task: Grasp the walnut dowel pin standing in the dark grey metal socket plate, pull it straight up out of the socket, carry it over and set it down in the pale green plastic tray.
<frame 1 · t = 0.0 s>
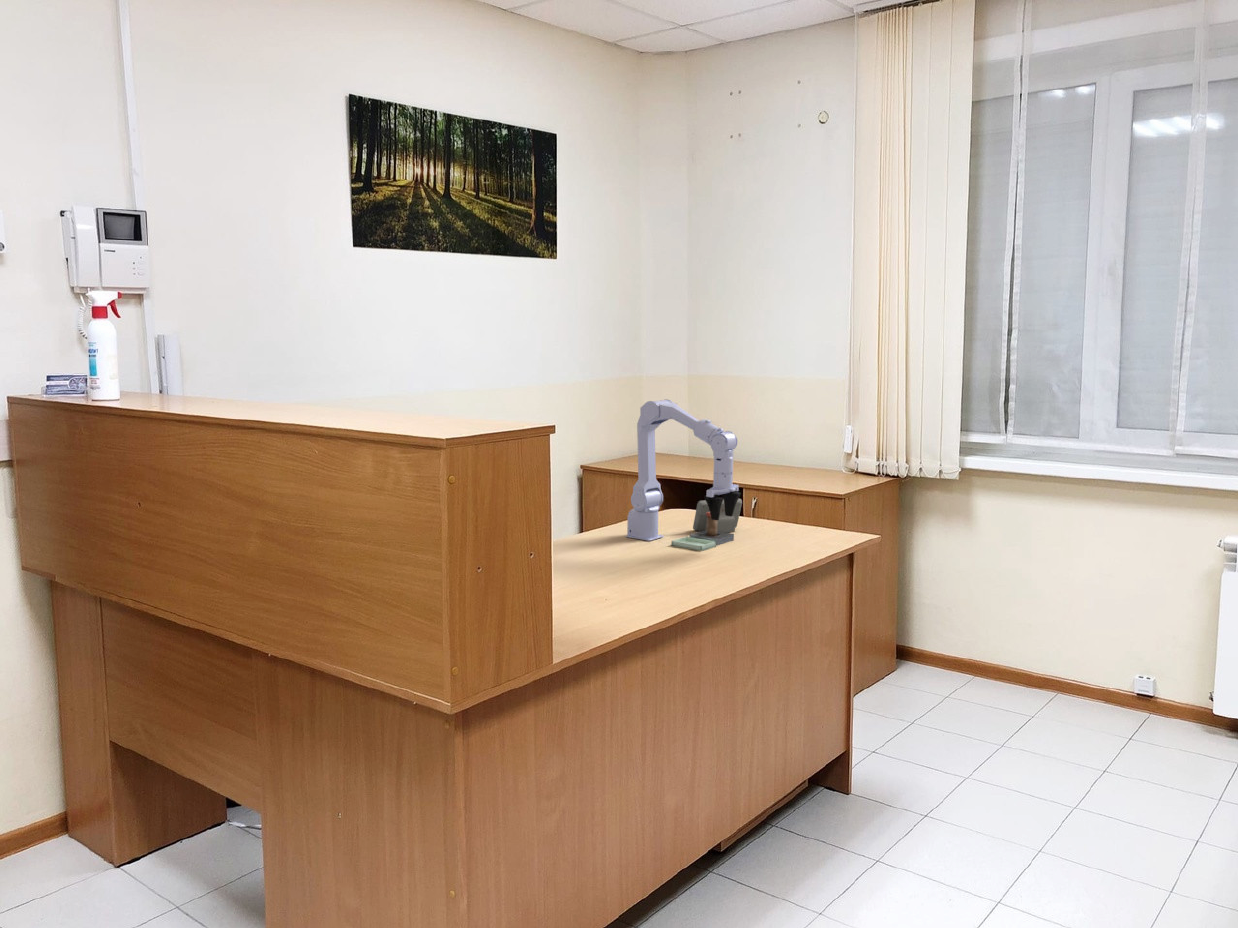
hand: (722, 517, 295), 10 cm above the table, fingers open, 7 cm apart
tray: (693, 546, 303), on the table
pin: (711, 526, 310), in the socket plate
socket plate: (711, 540, 310), on the table
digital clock: (717, 531, 326), on the table
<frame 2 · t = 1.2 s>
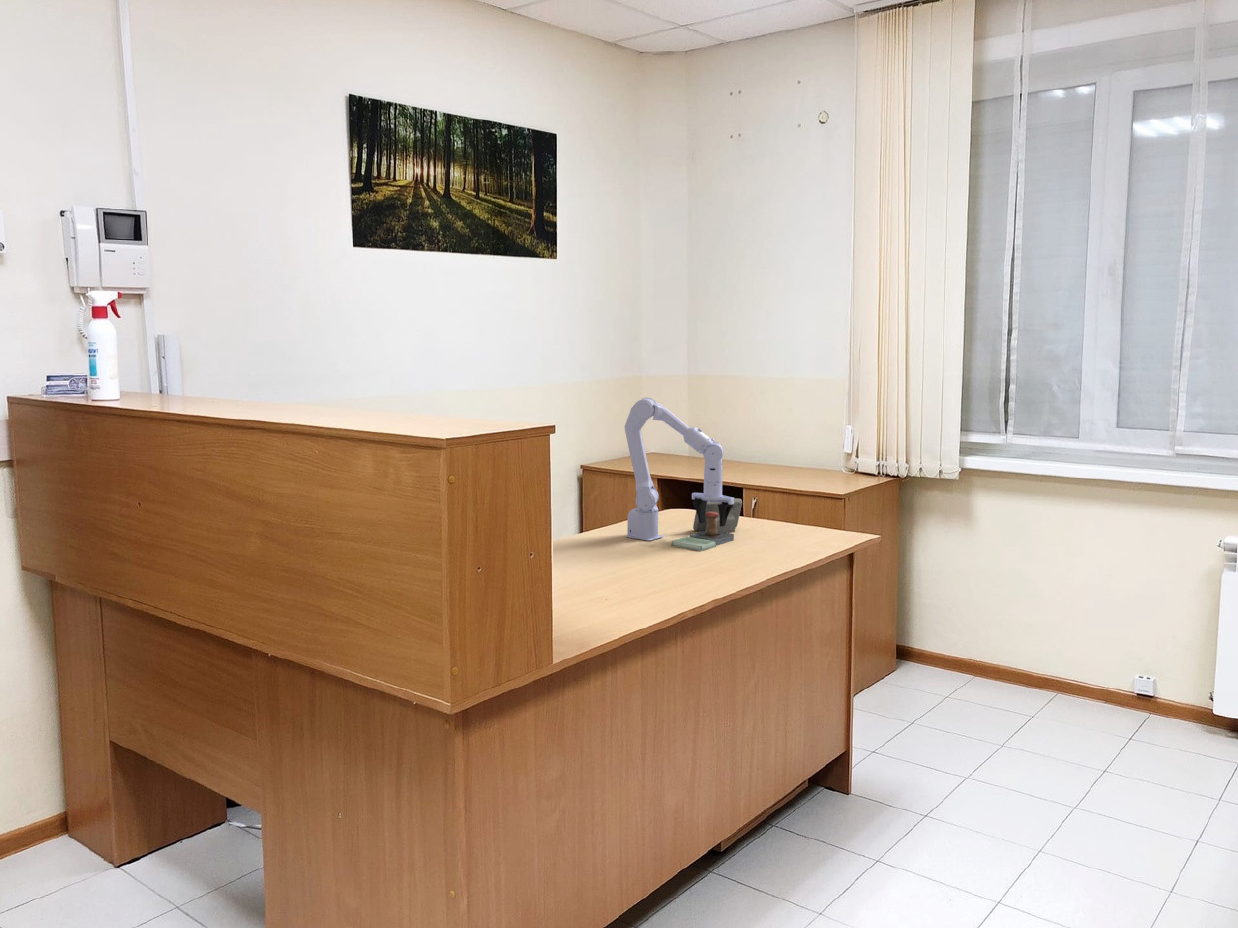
hand: (712, 524, 310), 5 cm above the table, fingers open, 7 cm apart
nothing on the table moved.
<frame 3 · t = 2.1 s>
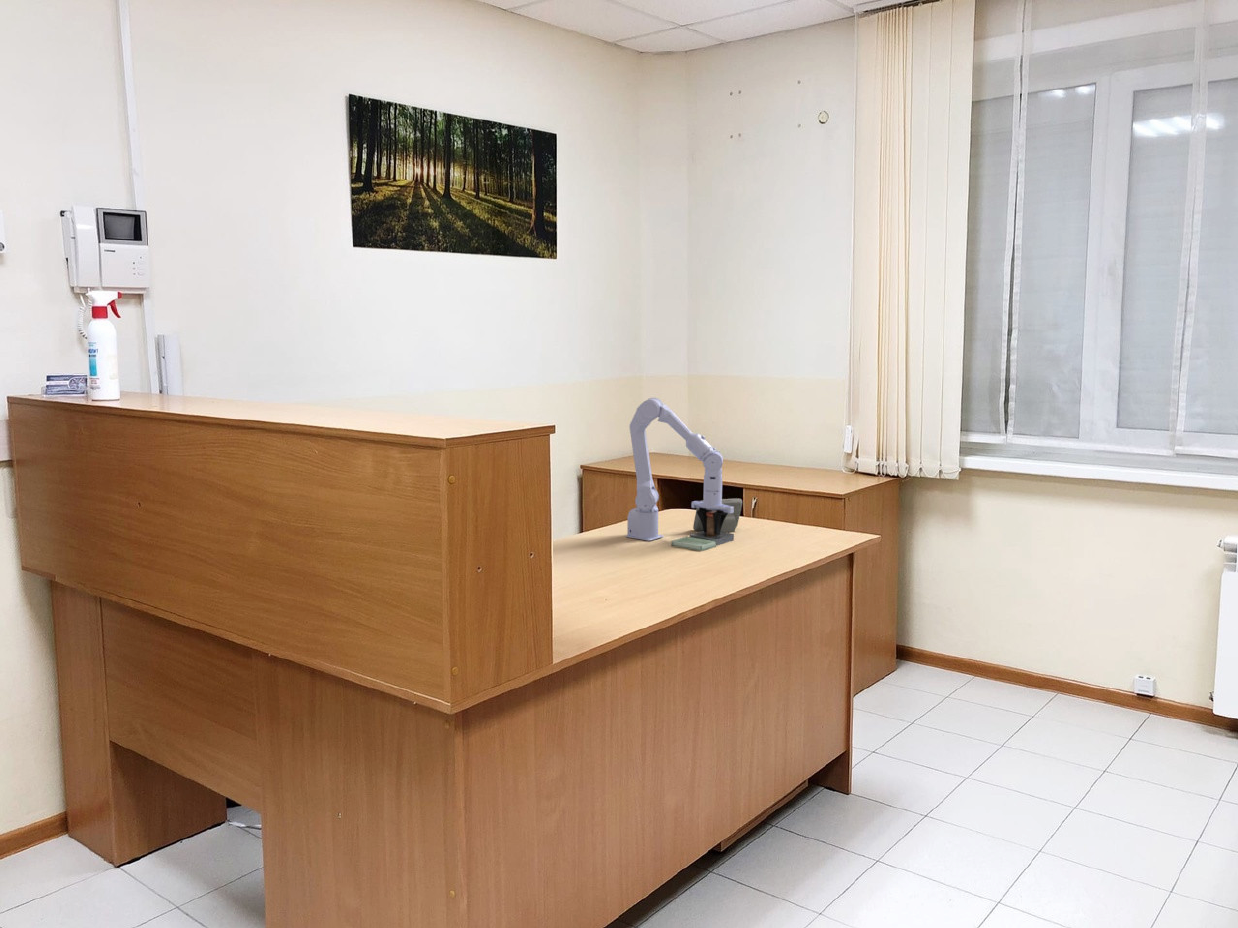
hand: (711, 533, 310), 2 cm above the table, fingers closed on pin, 3 cm apart
pin: (712, 526, 310), in the socket plate, touching gripper
everything else where it was.
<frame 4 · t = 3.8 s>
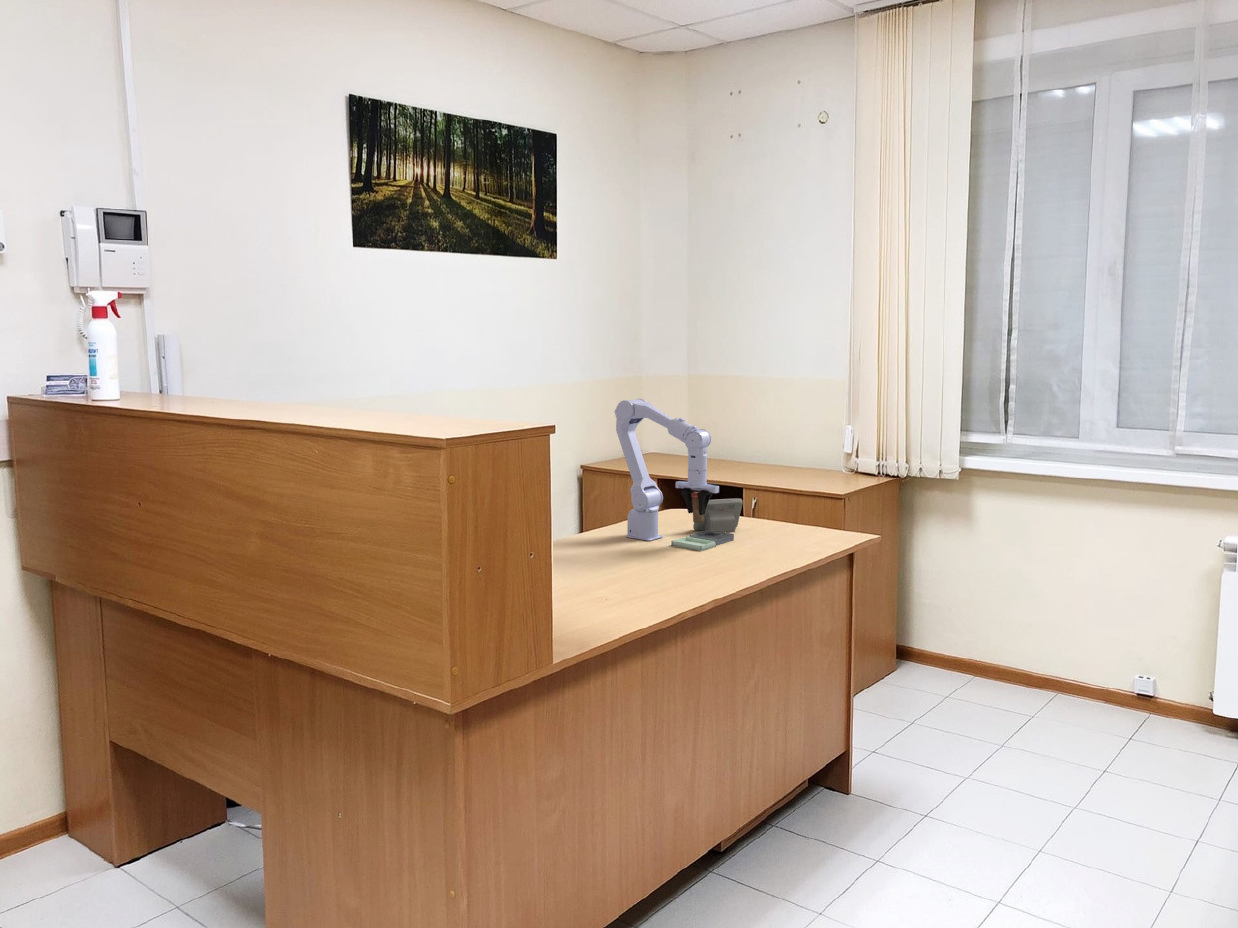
hand: (696, 513, 302), 10 cm above the table, fingers closed on pin, 3 cm apart
pin: (697, 507, 302), point 12 cm above the table, tilted 5°, touching gripper
everything else where it was.
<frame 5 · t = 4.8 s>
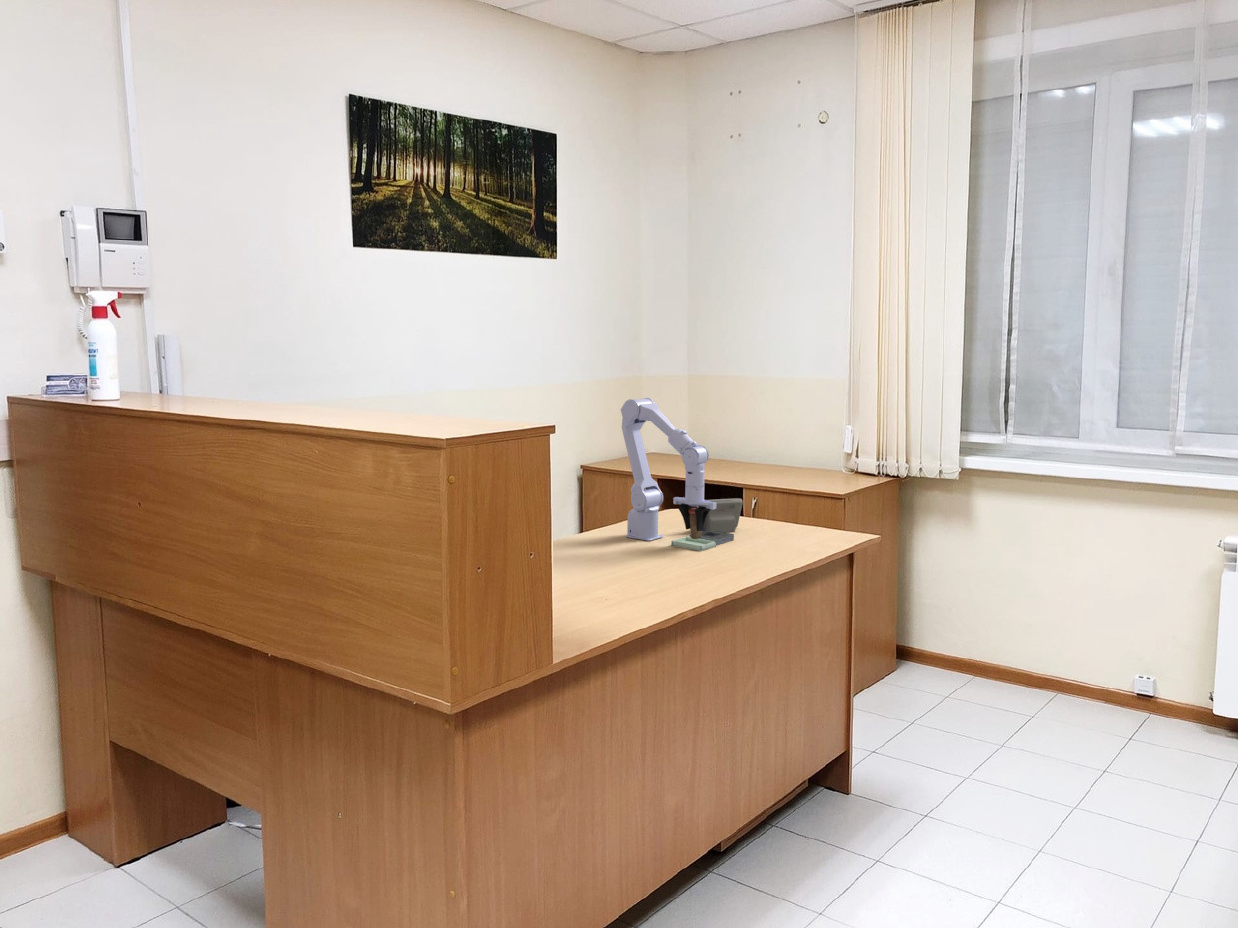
hand: (694, 529, 302), 5 cm above the table, fingers closed on pin, 3 cm apart
pin: (695, 523, 302), point 7 cm above the table, tilted 6°, touching gripper
everything else where it was.
when the fingers open (4 cm above the table, at t = 5.5 s): pin stays where it is, resting on tray.
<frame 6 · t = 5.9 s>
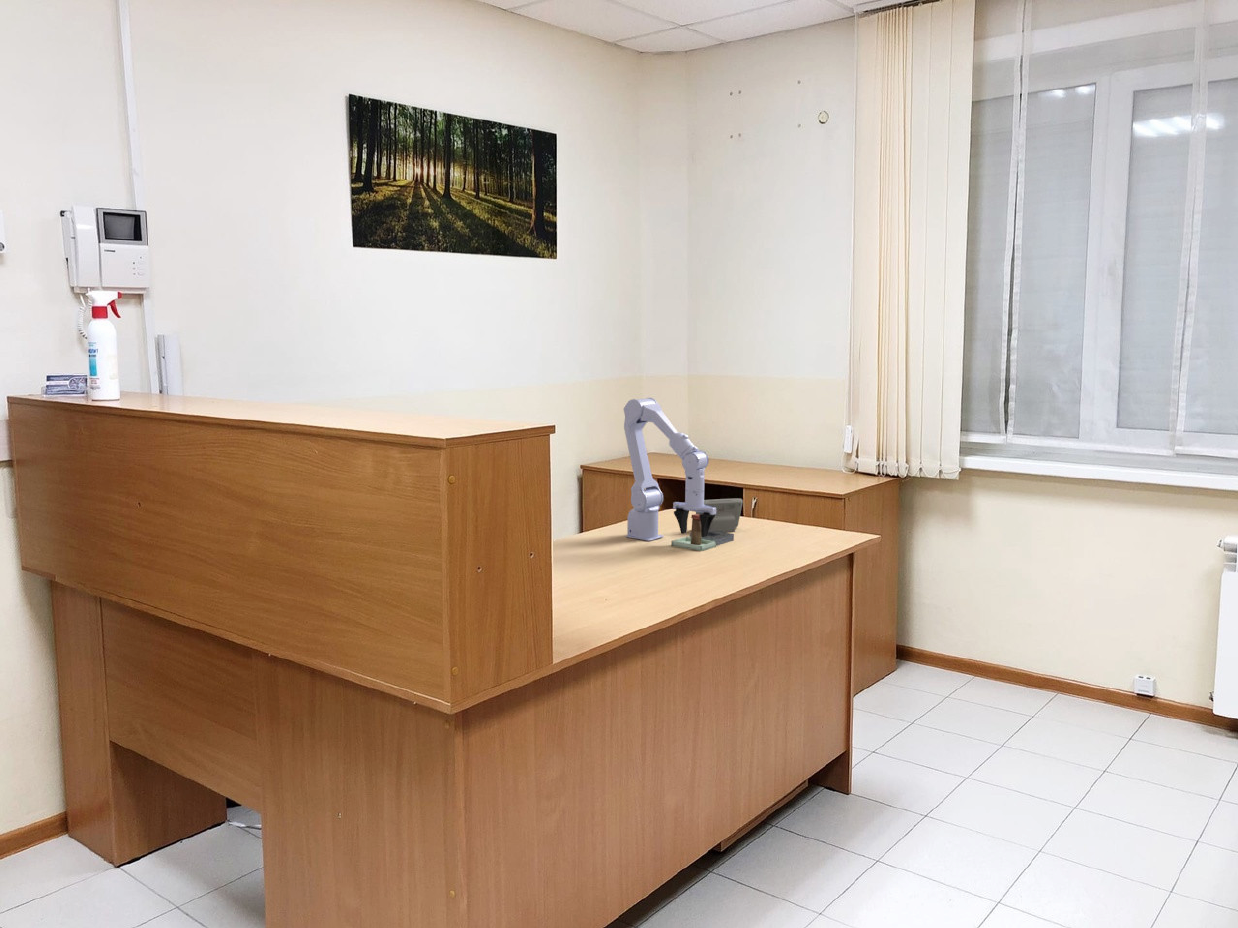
hand: (693, 534, 302), 4 cm above the table, fingers open, 7 cm apart
pin: (696, 529, 303), in the tray
everything else where it was.
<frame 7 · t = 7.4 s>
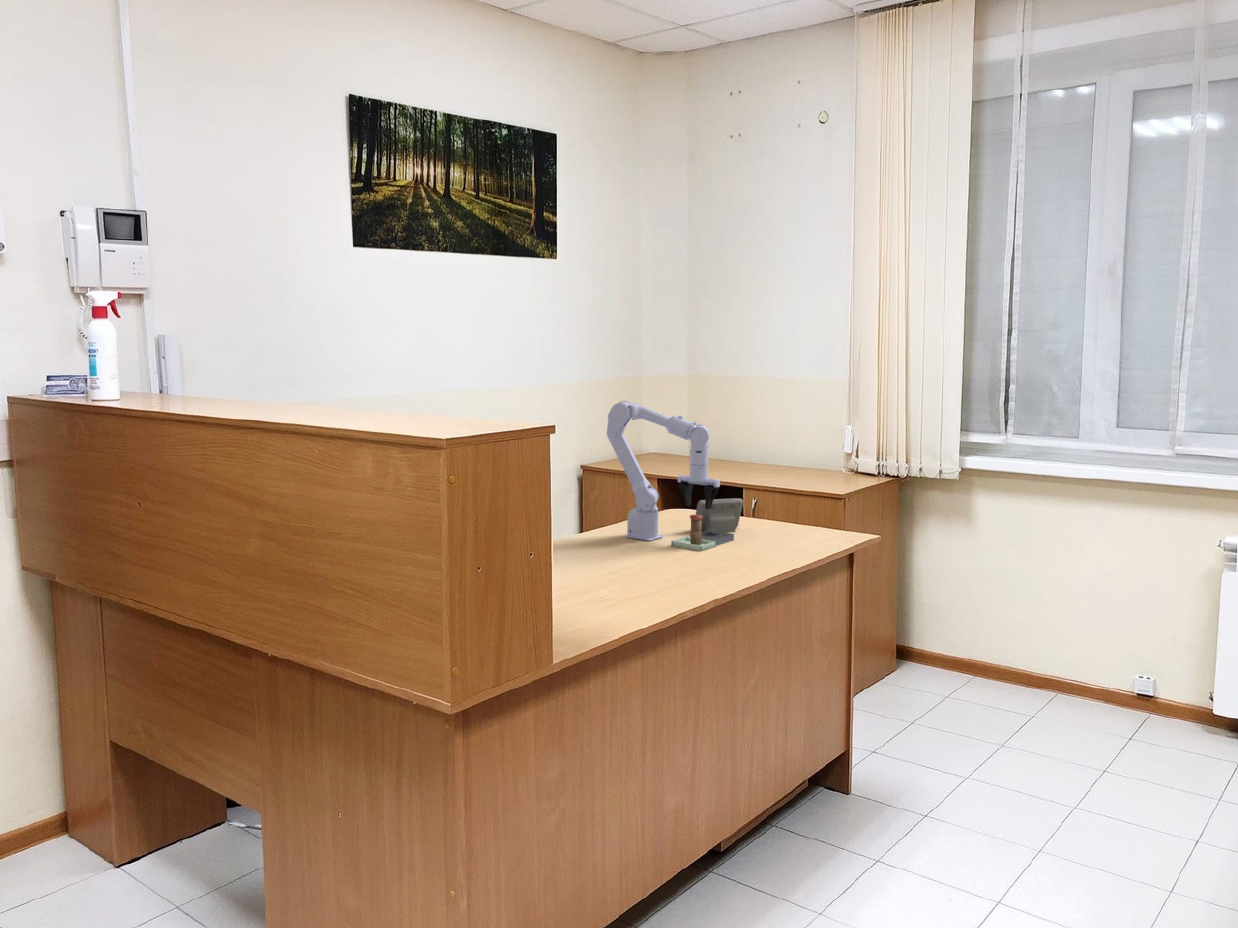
hand: (698, 507, 310), 10 cm above the table, fingers open, 7 cm apart
nothing on the table moved.
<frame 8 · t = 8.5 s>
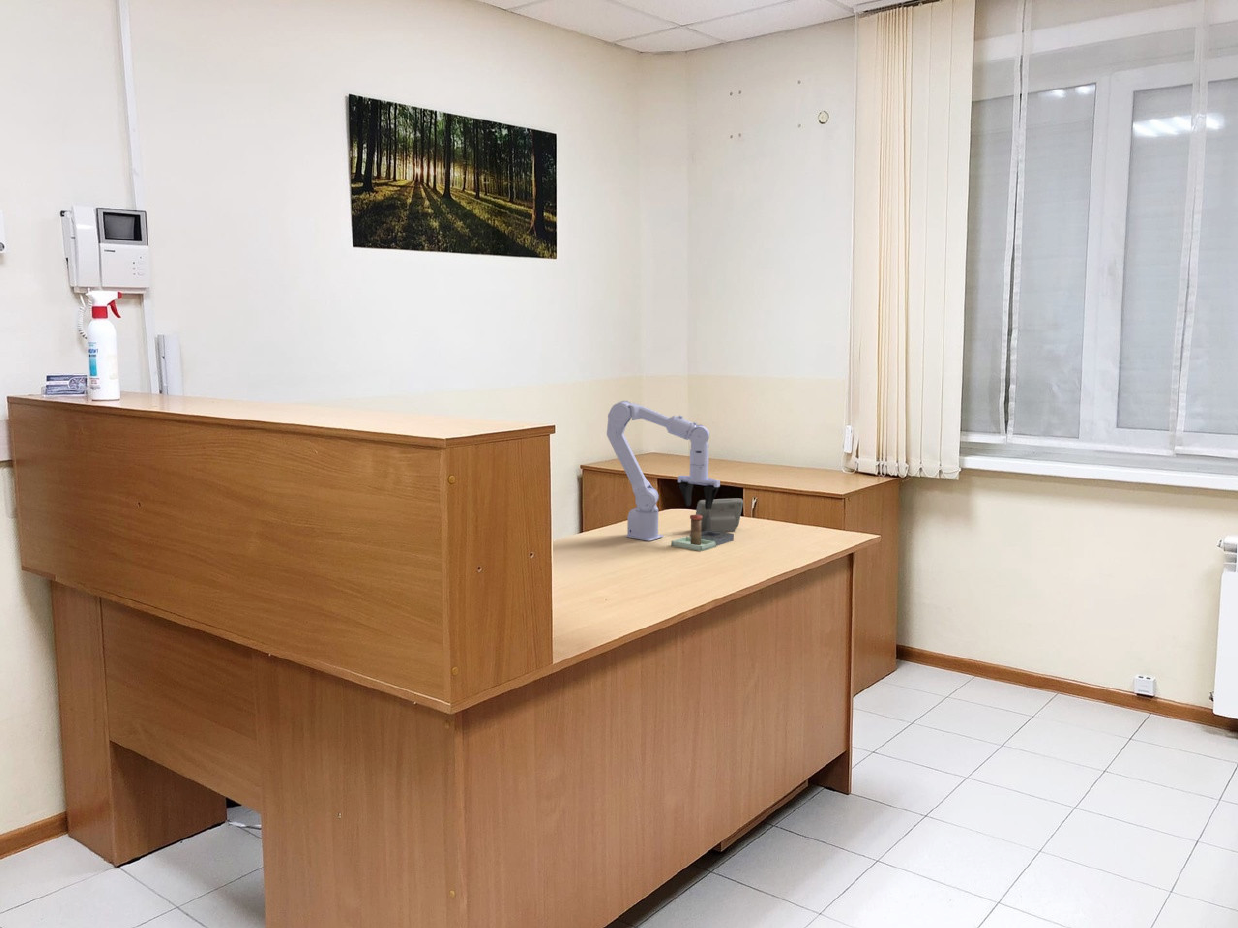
hand: (698, 507, 310), 10 cm above the table, fingers open, 7 cm apart
nothing on the table moved.
at the end: pin inside the target area on the tray (0.9 cm from its centre), point 4.9 cm above the tray's base; pin moved 9.1 cm from its start; the gripper is holding nothing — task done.
